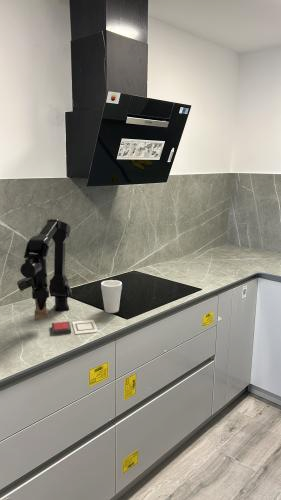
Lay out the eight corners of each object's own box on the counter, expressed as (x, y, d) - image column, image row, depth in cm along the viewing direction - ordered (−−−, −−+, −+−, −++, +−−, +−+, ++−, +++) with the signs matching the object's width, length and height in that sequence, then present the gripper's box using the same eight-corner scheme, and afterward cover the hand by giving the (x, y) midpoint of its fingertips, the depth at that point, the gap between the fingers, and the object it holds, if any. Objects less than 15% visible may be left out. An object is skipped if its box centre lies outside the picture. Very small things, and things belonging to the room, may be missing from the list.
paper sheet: (72, 322, 166) (72, 321, 166) (93, 320, 168) (93, 319, 168) (75, 334, 155) (75, 333, 154) (98, 332, 157) (98, 331, 157)
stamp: (34, 314, 159) (33, 295, 158) (47, 313, 161) (46, 294, 159) (35, 319, 155) (34, 300, 153) (48, 318, 156) (47, 299, 154)
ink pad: (51, 326, 162) (51, 322, 161) (69, 324, 164) (68, 320, 163) (53, 334, 154) (52, 330, 154) (71, 332, 156) (70, 328, 156)
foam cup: (103, 315, 174) (103, 287, 171) (99, 307, 183) (99, 281, 180) (124, 313, 177) (124, 285, 174) (119, 305, 185) (119, 279, 182)
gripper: (18, 265, 160) (20, 301, 164) (17, 278, 143) (19, 318, 146) (46, 263, 163) (47, 299, 167) (48, 276, 146) (50, 316, 149)
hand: (40, 307), depth 157 cm, fingers closed on stamp, 4 cm apart
